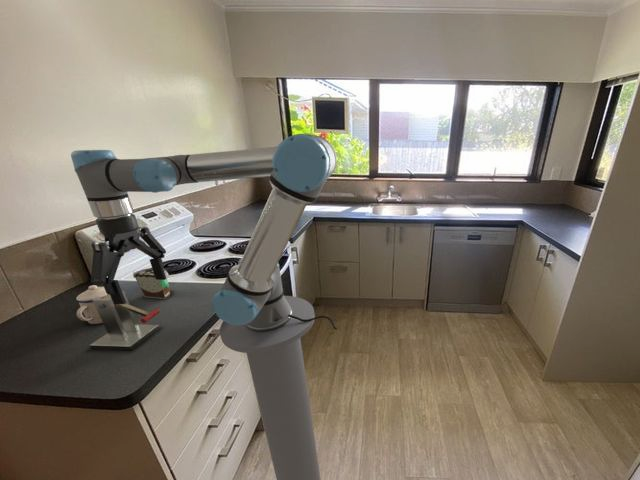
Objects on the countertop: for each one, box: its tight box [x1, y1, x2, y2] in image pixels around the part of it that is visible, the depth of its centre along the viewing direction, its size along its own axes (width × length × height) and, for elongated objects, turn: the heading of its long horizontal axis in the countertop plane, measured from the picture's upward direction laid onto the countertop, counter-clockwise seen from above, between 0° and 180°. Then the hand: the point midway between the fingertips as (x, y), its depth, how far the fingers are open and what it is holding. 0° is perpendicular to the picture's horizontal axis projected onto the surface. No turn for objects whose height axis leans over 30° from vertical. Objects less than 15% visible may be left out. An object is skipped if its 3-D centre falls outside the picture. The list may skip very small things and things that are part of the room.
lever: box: [103, 294, 160, 324], centre depth 81 cm, size 13×5×2 cm, turn 88°
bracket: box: [89, 290, 160, 351], centre depth 83 cm, size 12×10×15 cm
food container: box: [132, 267, 171, 300], centre depth 108 cm, size 12×6×10 cm, turn 80°
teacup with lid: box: [75, 284, 107, 325], centre depth 92 cm, size 12×9×12 cm
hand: (142, 290), depth 80 cm, fingers open, 13 cm apart
